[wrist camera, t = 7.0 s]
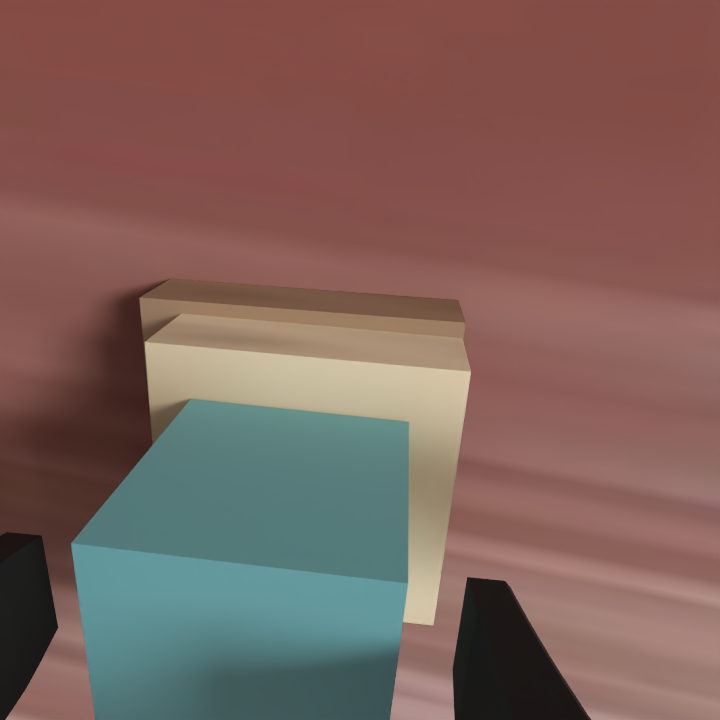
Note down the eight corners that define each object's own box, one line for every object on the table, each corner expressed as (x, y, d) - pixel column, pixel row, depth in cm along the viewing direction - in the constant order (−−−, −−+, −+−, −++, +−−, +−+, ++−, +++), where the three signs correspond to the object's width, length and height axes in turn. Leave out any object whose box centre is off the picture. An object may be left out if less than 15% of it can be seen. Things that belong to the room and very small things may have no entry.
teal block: (388, 594, 13) (377, 805, 9) (197, 571, 13) (101, 766, 9) (408, 421, 12) (407, 584, 7) (191, 398, 12) (71, 543, 8)
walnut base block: (428, 526, 18) (431, 584, 16) (193, 504, 18) (162, 557, 16) (456, 294, 15) (465, 323, 13) (179, 273, 16) (139, 297, 13)
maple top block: (430, 566, 15) (433, 625, 14) (193, 540, 16) (163, 594, 14) (462, 337, 13) (470, 371, 11) (181, 313, 13) (144, 342, 11)
